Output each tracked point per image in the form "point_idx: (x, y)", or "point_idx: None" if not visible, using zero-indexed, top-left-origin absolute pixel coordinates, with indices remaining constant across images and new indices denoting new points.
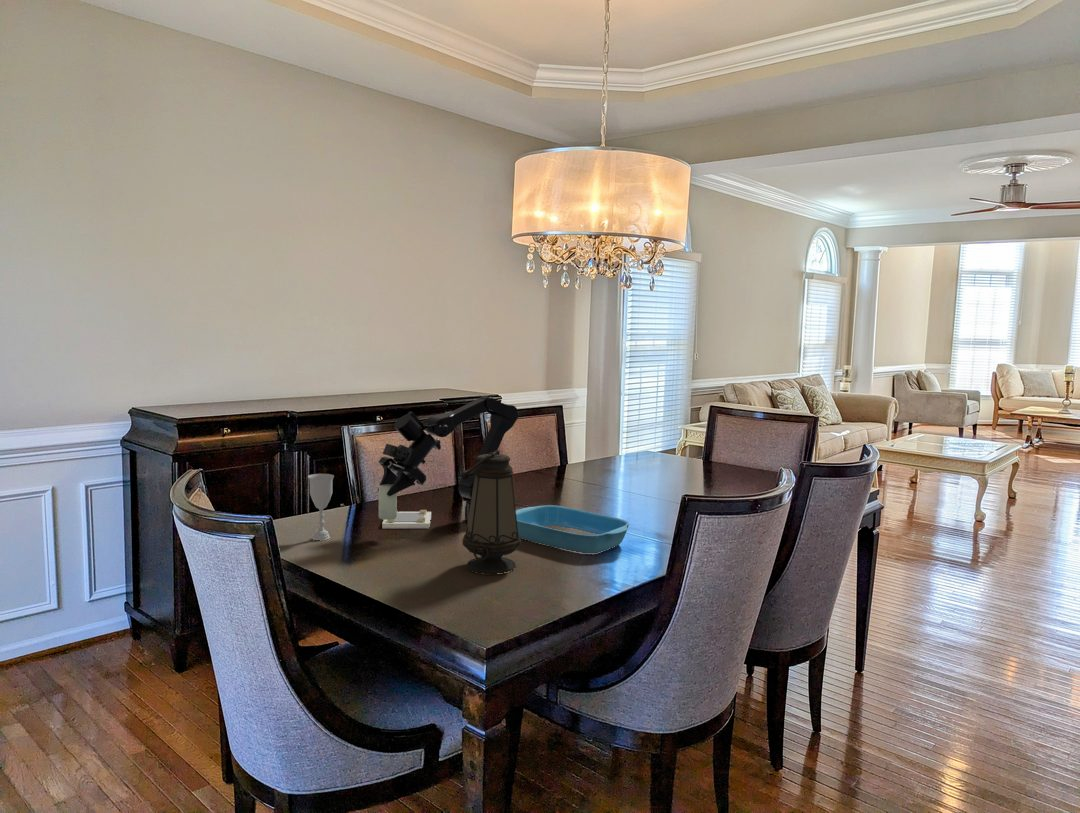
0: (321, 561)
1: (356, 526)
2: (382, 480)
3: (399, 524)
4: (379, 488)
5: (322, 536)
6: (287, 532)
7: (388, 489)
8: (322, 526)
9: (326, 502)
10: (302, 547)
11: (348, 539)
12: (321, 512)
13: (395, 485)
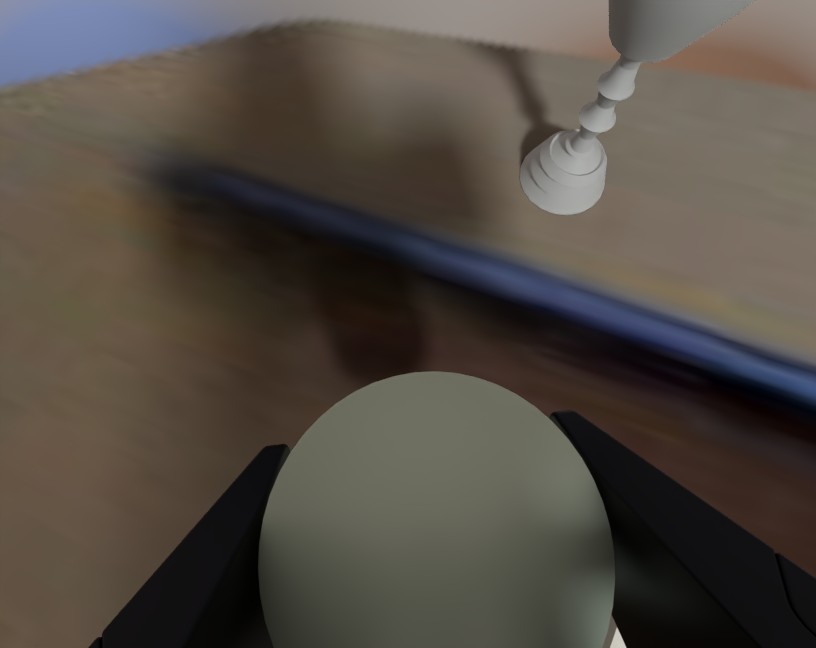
0: (250, 98)
1: (730, 394)
2: (710, 544)
3: (609, 639)
4: (425, 374)
5: (534, 160)
6: (719, 84)
7: (279, 488)
8: (579, 138)
9: (614, 6)
10: (465, 84)
11: (497, 278)
12: (615, 64)
13: (119, 643)
